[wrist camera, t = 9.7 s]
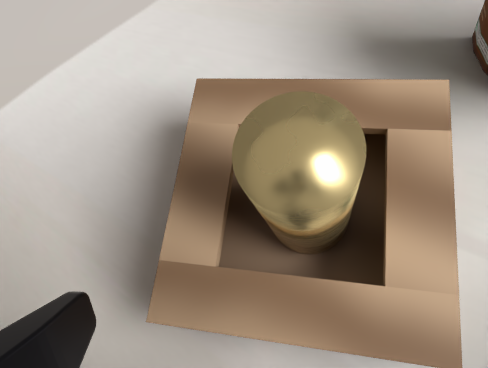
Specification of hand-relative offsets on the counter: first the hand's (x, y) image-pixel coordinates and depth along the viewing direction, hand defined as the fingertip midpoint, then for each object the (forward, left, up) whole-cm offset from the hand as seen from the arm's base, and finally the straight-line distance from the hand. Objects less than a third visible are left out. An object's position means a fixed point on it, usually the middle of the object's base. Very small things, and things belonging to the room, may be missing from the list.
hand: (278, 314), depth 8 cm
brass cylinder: (+6, 0, -13) cm, 14 cm away
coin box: (+6, 0, -14) cm, 15 cm away
